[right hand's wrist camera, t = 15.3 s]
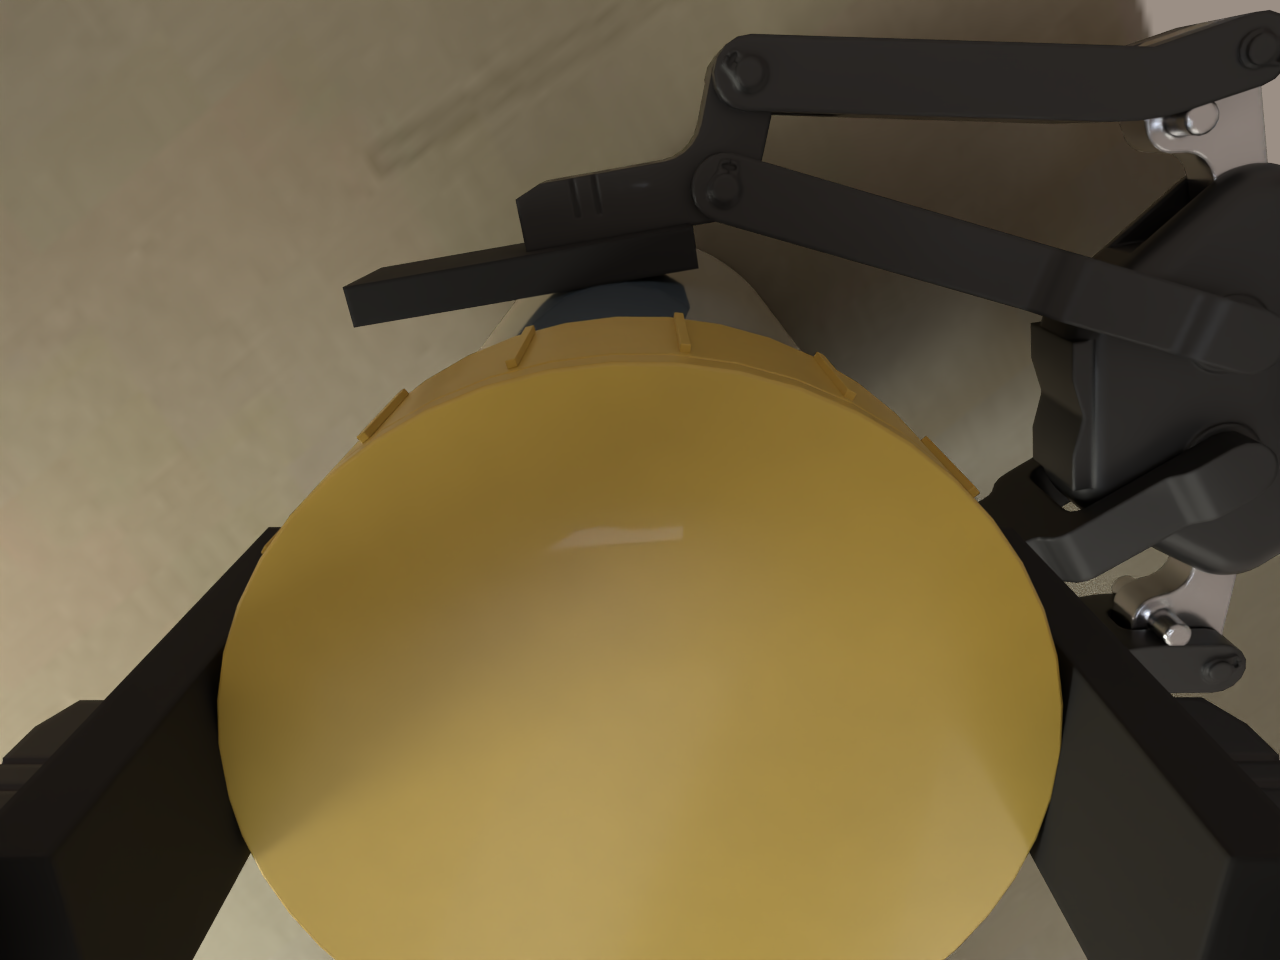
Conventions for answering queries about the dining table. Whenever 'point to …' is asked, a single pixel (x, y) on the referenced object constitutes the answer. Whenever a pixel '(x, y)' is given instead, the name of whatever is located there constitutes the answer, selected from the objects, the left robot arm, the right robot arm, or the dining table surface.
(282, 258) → the dining table surface
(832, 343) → the dining table surface
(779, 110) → the left robot arm
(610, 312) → the jar
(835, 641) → the lid
